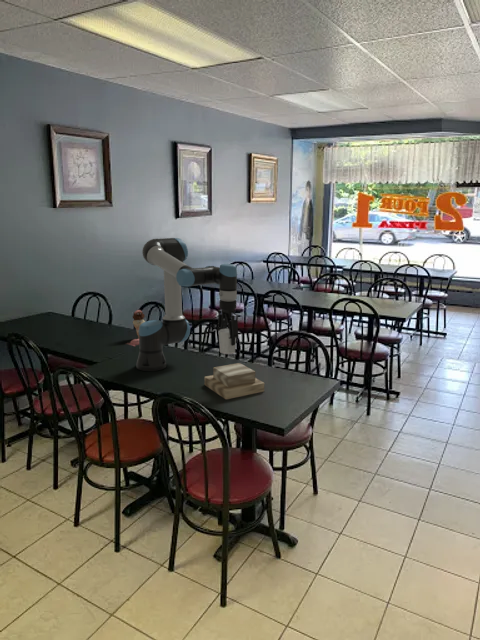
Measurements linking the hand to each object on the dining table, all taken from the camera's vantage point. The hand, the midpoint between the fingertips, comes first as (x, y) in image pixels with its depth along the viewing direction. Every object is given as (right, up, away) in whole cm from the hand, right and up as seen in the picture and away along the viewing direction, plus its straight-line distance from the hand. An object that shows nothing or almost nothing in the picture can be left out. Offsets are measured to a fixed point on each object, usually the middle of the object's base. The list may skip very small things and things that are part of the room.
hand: (227, 349), depth 225 cm
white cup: (0, -1, 0) cm, 1 cm away
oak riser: (+3, -18, +5) cm, 19 cm away
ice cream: (-56, 0, +77) cm, 95 cm away
